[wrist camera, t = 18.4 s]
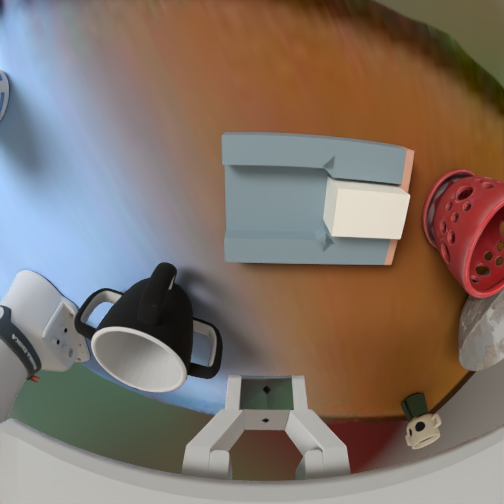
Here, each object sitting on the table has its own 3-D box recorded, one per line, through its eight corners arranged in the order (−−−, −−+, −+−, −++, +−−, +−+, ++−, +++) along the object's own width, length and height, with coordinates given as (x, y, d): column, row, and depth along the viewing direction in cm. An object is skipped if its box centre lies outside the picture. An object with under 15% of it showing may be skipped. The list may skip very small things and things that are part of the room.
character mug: (417, 384, 51) (434, 431, 40) (435, 386, 52) (452, 428, 41) (388, 410, 56) (400, 453, 45) (406, 410, 57) (419, 451, 46)
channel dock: (382, 252, 35) (391, 264, 32) (227, 248, 35) (225, 262, 32) (401, 145, 28) (414, 151, 25) (225, 132, 28) (221, 135, 26)
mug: (144, 345, 45) (123, 401, 34) (93, 269, 38) (53, 322, 27) (232, 330, 42) (226, 397, 32) (189, 239, 35) (162, 300, 24)
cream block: (385, 222, 32) (400, 239, 28) (322, 218, 32) (331, 236, 28) (392, 182, 29) (410, 195, 25) (327, 176, 30) (338, 188, 26)
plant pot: (407, 253, 35) (449, 309, 25) (419, 158, 29) (480, 190, 18) (474, 247, 34) (518, 292, 24) (489, 165, 28) (547, 195, 17)
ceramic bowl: (423, 287, 38) (452, 331, 29) (519, 208, 30) (557, 235, 22) (447, 351, 46) (465, 387, 37) (525, 289, 38) (549, 317, 30)
